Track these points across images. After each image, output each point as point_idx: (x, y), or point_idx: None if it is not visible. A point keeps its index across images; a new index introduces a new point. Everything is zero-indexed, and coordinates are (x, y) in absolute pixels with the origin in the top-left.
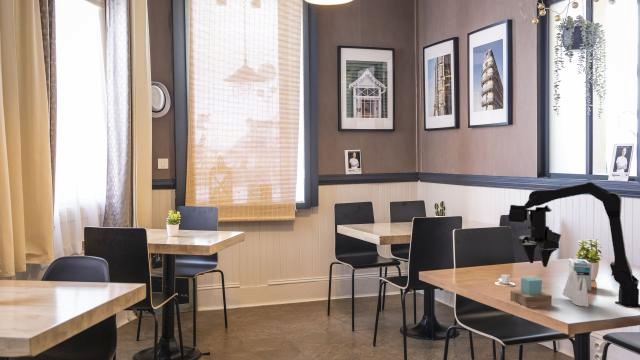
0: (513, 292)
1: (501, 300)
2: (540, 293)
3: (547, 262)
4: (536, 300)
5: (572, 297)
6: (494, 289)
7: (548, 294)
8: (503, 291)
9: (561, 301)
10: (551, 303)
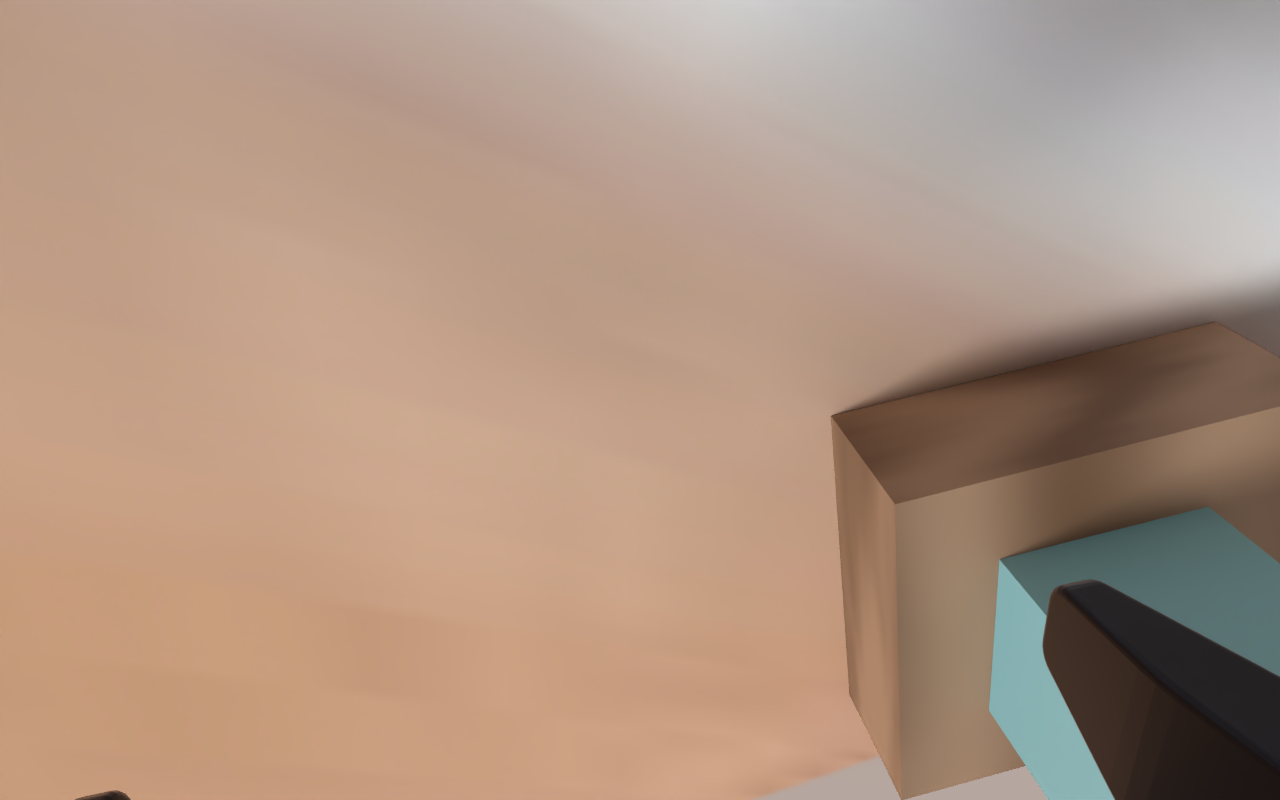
0: (967, 773)
1: (831, 766)
2: (1213, 525)
3: (1270, 696)
4: None
5: None
6: (201, 771)
7: (1261, 413)
8: (326, 692)
9: (1049, 47)
10: (1240, 336)
